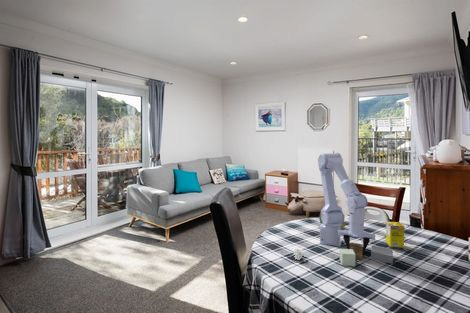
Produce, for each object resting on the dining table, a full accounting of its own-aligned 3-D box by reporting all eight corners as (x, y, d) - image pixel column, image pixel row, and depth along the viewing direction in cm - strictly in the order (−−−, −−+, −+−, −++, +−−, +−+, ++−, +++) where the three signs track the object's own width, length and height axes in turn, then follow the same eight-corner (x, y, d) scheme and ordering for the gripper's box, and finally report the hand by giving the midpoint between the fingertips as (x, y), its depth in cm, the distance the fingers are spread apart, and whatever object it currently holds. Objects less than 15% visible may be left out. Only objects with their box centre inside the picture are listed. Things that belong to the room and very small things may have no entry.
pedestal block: (370, 260, 114) (371, 252, 114) (371, 253, 121) (371, 245, 121) (392, 264, 110) (393, 256, 110) (392, 256, 117) (392, 249, 117)
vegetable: (343, 230, 143) (317, 215, 149) (336, 240, 153) (312, 225, 159) (352, 213, 150) (326, 199, 155) (345, 224, 160) (321, 210, 165)
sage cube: (342, 265, 110) (342, 253, 109) (339, 260, 115) (339, 248, 114) (355, 266, 109) (355, 254, 108) (352, 260, 114) (352, 249, 113)
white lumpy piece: (296, 253, 122) (296, 244, 122) (311, 259, 116) (312, 250, 116) (284, 260, 116) (284, 250, 116) (300, 266, 110) (300, 256, 110)
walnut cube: (349, 257, 116) (349, 246, 116) (350, 253, 121) (350, 242, 120) (362, 259, 114) (362, 248, 114) (362, 255, 119) (362, 244, 118)
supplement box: (404, 249, 124) (404, 226, 123) (390, 248, 125) (390, 225, 124) (399, 244, 130) (399, 222, 129) (385, 243, 131) (386, 221, 130)
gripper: (337, 223, 116) (337, 253, 117) (375, 227, 110) (375, 260, 111) (339, 218, 122) (338, 247, 123) (375, 222, 116) (374, 253, 117)
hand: (356, 253), depth 117 cm, fingers closed on walnut cube, 5 cm apart
